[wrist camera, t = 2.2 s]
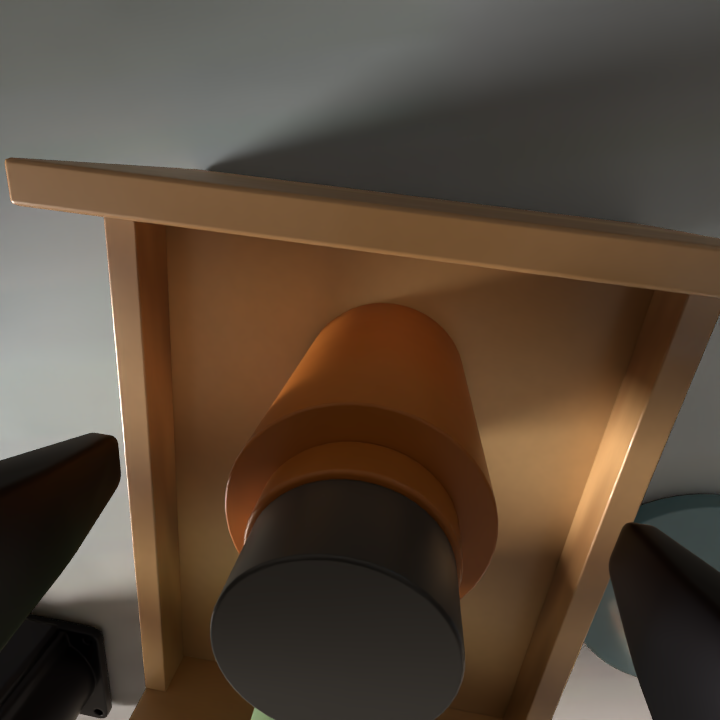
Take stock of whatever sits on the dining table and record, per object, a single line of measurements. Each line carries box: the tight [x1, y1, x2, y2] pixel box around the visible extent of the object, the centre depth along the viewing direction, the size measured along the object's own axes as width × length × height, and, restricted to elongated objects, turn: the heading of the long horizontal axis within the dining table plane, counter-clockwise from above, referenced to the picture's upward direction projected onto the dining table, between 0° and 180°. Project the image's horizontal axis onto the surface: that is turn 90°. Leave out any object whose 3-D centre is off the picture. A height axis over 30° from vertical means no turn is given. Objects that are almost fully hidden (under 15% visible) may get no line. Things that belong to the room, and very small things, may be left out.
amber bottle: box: [210, 303, 498, 720], centre depth 9 cm, size 4×4×8 cm
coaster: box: [584, 494, 720, 677], centre depth 18 cm, size 9×9×1 cm
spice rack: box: [5, 158, 720, 720], centre depth 14 cm, size 19×14×8 cm
